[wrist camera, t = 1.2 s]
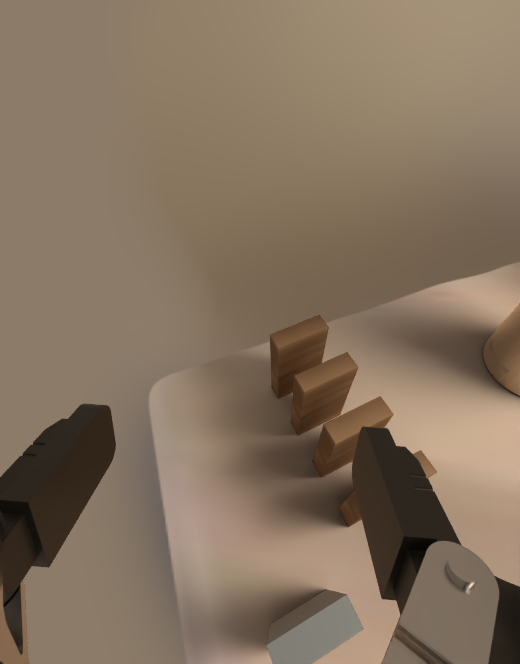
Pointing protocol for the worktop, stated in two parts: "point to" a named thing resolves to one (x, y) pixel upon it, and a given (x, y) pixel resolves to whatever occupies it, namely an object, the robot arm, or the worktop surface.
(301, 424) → the domino
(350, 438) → the domino
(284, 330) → the domino
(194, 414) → the worktop surface
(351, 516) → the domino
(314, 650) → the domino
